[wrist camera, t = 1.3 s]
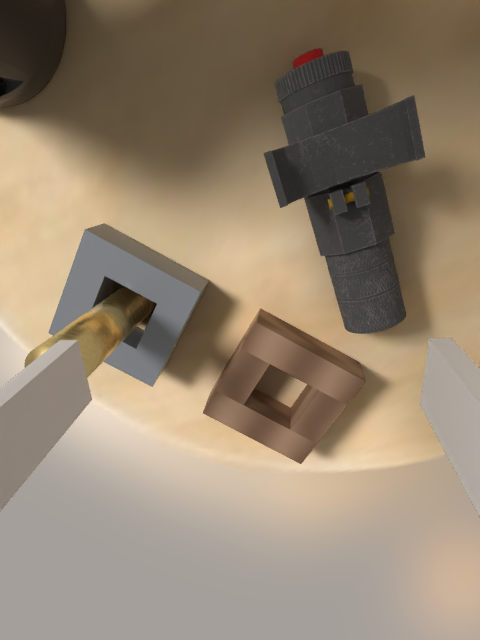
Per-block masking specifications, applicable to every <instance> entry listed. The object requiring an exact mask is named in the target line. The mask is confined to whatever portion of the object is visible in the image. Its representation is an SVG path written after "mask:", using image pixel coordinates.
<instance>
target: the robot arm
mask: <svg viewBox="0 0 480 640" xmlns="http://www.w3.org/2000/svg"><path fill="white" fill-rule="evenodd" d="M65 33H66V12H65V3H64V0H0V107H9V106H14V105H18V104H21V103H23V102H26V101H27V100H29V99H31V98H32V97H34V96H35V95H37V94H38V93H39V92H40V91H41V90H42V89H43V88H44V87H45V86H46V85H47V83H48V82H49V81H50V79H51V78H52V76H53V74H54V73H55V71H56V68H57V66H58V64H59V61H60V58H61V55H62V51H63V47H64V41H65ZM91 400H92V397H91V393H90V388H89V384H88V380H87V376H86V372H85V367H84V363H83V359H82V355H81V350H80V346H79V342H78V340H60V341H58V342H57V343H56V344H54V345H53V346H52V347H51V348H49V349H48V350H47V351H46V352H44V353H43V354H42V355H41V356H39V357H38V358H37V359H36V360H34V361H33V362H32V363H31V364H29V365H28V366H27V367H25V368H24V369H23V370H22V371H20V372H19V373H18V374H17V375H15V376H14V377H13V378H12V379H10V380H9V381H8V382H7V383H5V384H4V385H3V386H1V387H0V511H1V510H2V509H3V508H4V506H5V505H6V504H7V503H8V501H9V500H10V499H11V498H12V497H13V495H14V494H15V493H16V492H17V491H18V489H19V488H20V487H21V486H22V484H23V483H24V482H25V480H26V479H27V478H28V477H29V476H30V475H31V473H32V472H33V471H34V470H35V469H36V467H37V466H38V465H39V464H40V462H41V461H42V460H43V459H44V458H45V456H46V455H47V454H48V453H49V451H50V450H51V449H52V448H53V447H54V445H55V444H56V443H57V442H58V440H59V439H60V438H61V437H62V436H63V434H64V433H65V432H66V431H67V429H68V428H69V427H70V426H71V425H72V423H73V422H74V421H75V420H76V419H77V417H78V416H79V415H80V414H81V412H82V411H83V410H84V409H85V407H86V406H87V405H88V404H89V403H90V401H91ZM420 405H421V407H422V409H423V411H424V413H425V415H426V417H427V419H428V420H429V422H430V424H431V426H432V428H433V430H434V432H435V434H436V436H437V437H438V439H439V441H440V443H441V445H442V447H443V449H444V451H445V453H446V455H447V456H448V458H449V460H450V462H451V464H452V466H453V468H454V470H455V472H456V474H457V475H458V477H459V479H460V481H461V483H462V485H463V487H464V488H465V490H466V492H467V494H468V496H469V498H470V500H471V502H472V504H473V506H474V507H475V510H476V511H477V513H478V515H479V517H480V369H479V367H478V366H477V365H476V364H475V363H474V362H473V361H472V360H471V359H470V357H469V356H468V355H467V354H466V353H465V352H464V351H463V350H462V349H461V347H460V346H459V345H458V344H457V343H456V342H455V341H454V340H453V339H452V338H429V342H428V349H427V357H426V364H425V372H424V380H423V387H422V395H421V402H420Z"/></svg>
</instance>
